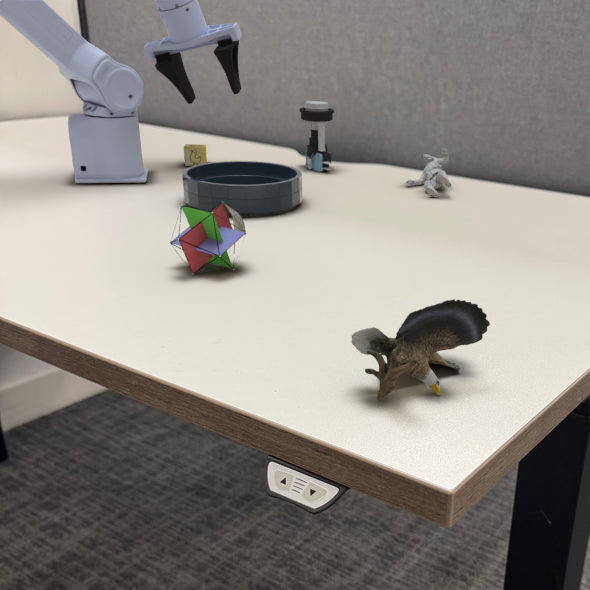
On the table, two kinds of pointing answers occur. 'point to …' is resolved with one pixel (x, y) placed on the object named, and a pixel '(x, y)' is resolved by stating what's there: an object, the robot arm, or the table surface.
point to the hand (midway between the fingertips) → (214, 96)
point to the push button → (317, 134)
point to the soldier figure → (433, 174)
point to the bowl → (243, 187)
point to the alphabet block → (194, 154)
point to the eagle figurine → (421, 342)
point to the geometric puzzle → (209, 236)
